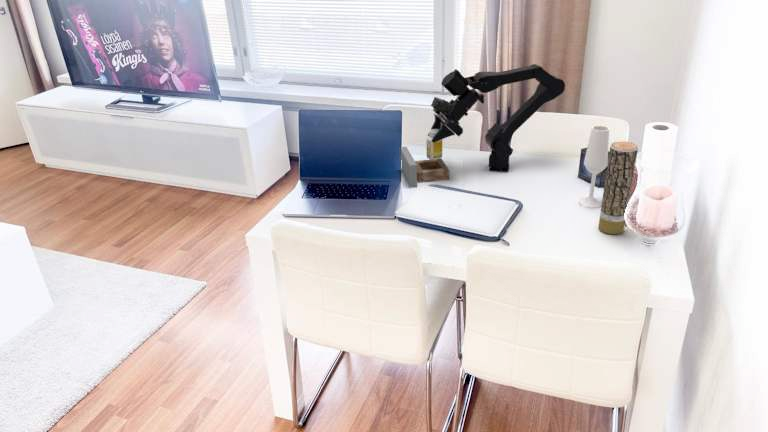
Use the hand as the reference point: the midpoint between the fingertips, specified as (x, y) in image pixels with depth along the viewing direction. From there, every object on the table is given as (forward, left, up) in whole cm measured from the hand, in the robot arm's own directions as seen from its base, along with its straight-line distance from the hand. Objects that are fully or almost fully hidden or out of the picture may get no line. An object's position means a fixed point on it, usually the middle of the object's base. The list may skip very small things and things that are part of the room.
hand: (430, 139), depth 198 cm
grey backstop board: (+7, +3, -13) cm, 15 cm away
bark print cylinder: (-58, +29, -13) cm, 66 cm away
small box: (-55, -6, -14) cm, 57 cm away
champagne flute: (-53, +12, -13) cm, 56 cm away
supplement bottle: (-1, -1, -7) cm, 7 cm away
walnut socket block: (0, 0, -14) cm, 14 cm away
